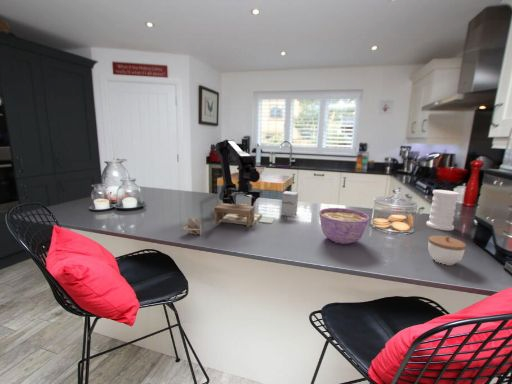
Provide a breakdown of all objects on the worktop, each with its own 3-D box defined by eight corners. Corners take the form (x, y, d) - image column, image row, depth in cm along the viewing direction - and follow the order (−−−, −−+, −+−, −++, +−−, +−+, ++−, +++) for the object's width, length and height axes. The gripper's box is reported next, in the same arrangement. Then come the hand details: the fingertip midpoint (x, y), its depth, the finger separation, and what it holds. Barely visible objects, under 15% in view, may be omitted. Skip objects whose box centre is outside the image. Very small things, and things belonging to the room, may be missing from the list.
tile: (263, 217, 140) (263, 216, 139) (275, 218, 138) (275, 217, 138) (258, 222, 131) (258, 221, 131) (271, 223, 129) (271, 222, 129)
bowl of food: (313, 231, 121) (314, 207, 118) (356, 232, 120) (359, 208, 118) (322, 249, 101) (324, 220, 99) (374, 251, 101) (378, 222, 98)
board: (232, 213, 145) (232, 210, 145) (261, 216, 141) (261, 213, 141) (220, 221, 131) (220, 218, 131) (253, 225, 126) (253, 222, 126)
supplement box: (280, 215, 144) (281, 193, 142) (284, 212, 151) (285, 190, 148) (293, 217, 142) (295, 194, 139) (297, 213, 148) (298, 192, 146)
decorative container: (459, 230, 127) (466, 194, 124) (437, 230, 126) (443, 194, 123) (441, 222, 139) (447, 189, 135) (421, 222, 138) (426, 189, 134)
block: (241, 216, 140) (241, 203, 139) (248, 217, 139) (248, 204, 138) (238, 218, 137) (238, 205, 135) (245, 219, 136) (246, 206, 134)
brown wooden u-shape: (221, 217, 132) (221, 203, 130) (254, 221, 127) (254, 206, 126) (214, 222, 123) (214, 207, 122) (248, 226, 119) (248, 211, 117)
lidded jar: (429, 264, 91) (434, 239, 89) (422, 252, 101) (426, 229, 99) (466, 271, 87) (472, 244, 85) (455, 257, 97) (460, 234, 95)
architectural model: (199, 237, 111) (198, 221, 109) (183, 236, 111) (182, 220, 110) (201, 234, 114) (201, 218, 113) (186, 233, 115) (185, 217, 113)
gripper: (265, 178, 139) (264, 206, 142) (232, 175, 144) (232, 203, 147) (259, 181, 128) (258, 211, 132) (224, 178, 133) (224, 208, 137)
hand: (243, 208), depth 137 cm, fingers open, 9 cm apart
